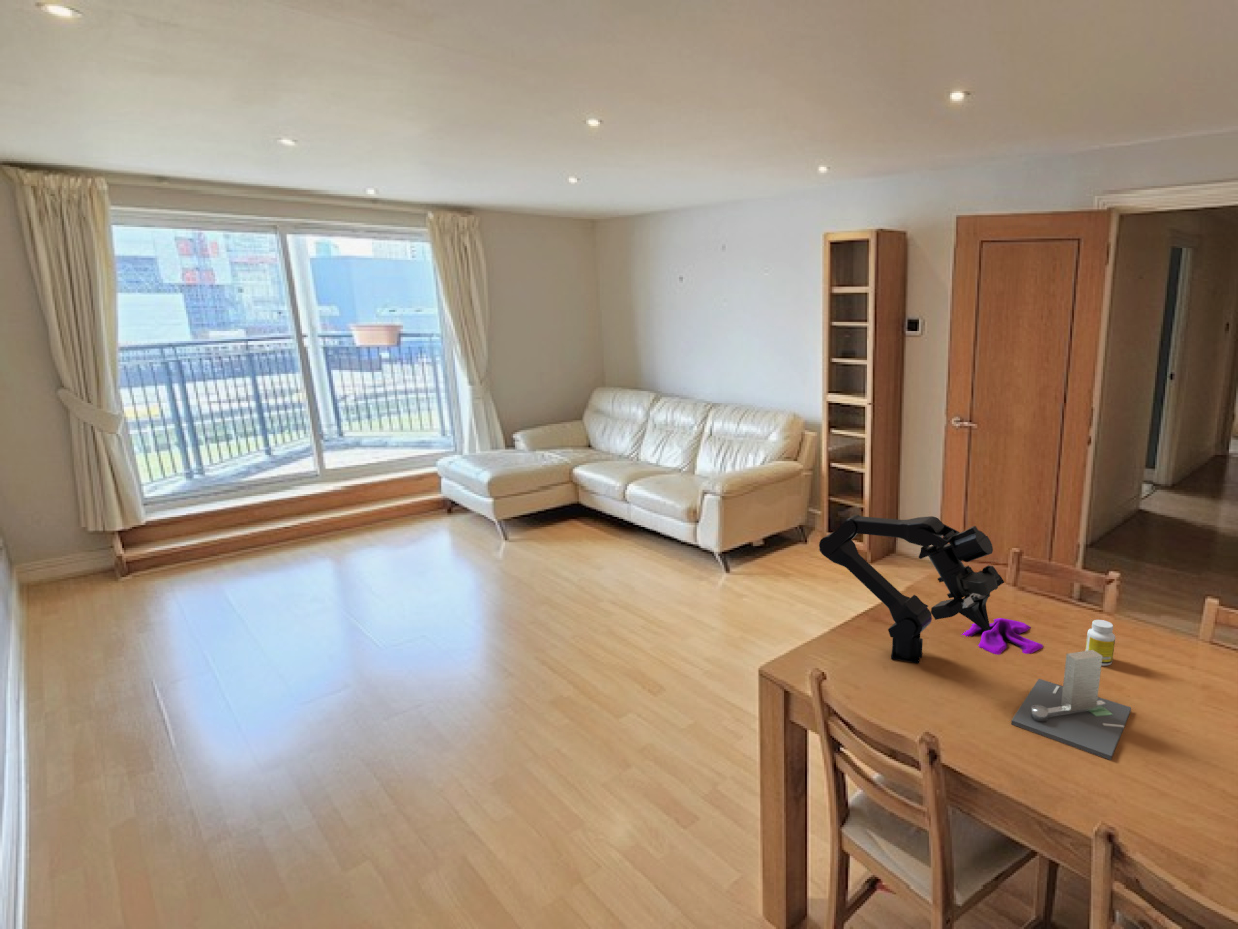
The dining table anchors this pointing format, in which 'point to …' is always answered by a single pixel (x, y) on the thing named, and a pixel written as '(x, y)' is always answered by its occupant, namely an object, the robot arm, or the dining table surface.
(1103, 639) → the supplement bottle
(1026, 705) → the plate
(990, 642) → the cloth
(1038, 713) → the frosted block on spoon
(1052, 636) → the dining table surface
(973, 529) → the robot arm
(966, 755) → the dining table surface
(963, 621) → the dining table surface
